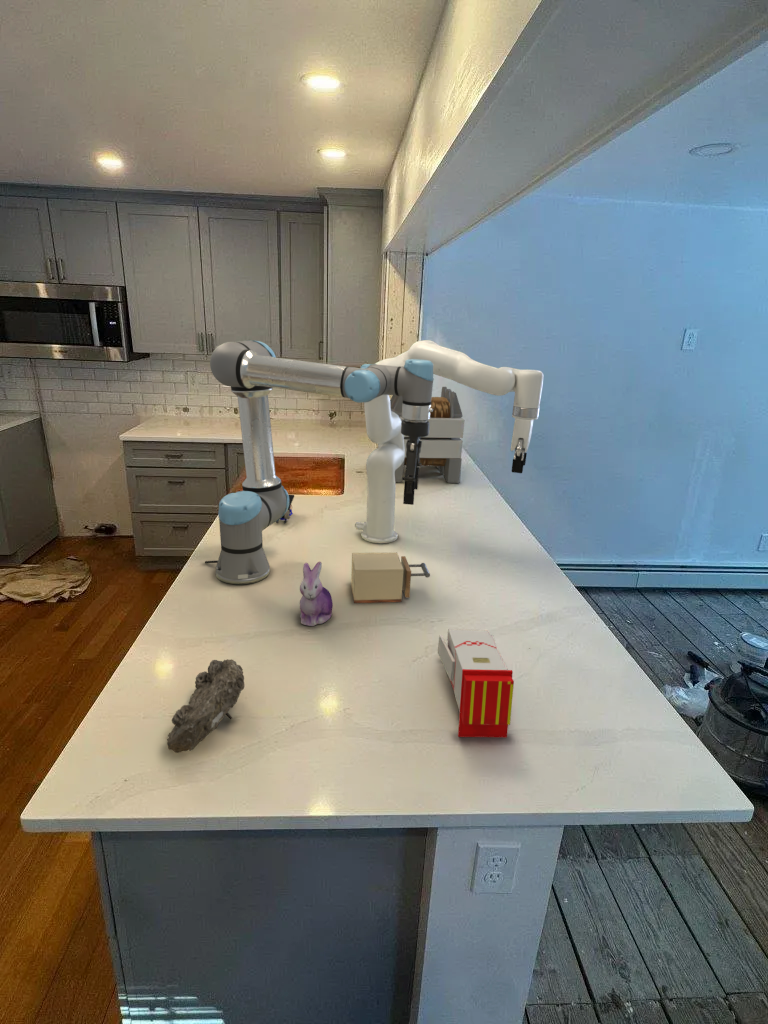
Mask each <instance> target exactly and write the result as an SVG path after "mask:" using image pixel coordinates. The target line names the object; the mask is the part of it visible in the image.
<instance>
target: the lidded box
mask: <svg viewBox="0 0 768 1024" xmlns="http://www.w3.org/2000/svg"><path fill="white" fill-rule="evenodd" d="M350 575H351V576H350V586H351V592H352V599H353V603H354V604H373V603H375V604H377V603H402V601H403V600H402V599H403V598H402V597H403V589H402V583H403V567H402V564H401V558H400V556H399V554H398V551H397V552H351V574H350Z"/></svg>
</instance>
